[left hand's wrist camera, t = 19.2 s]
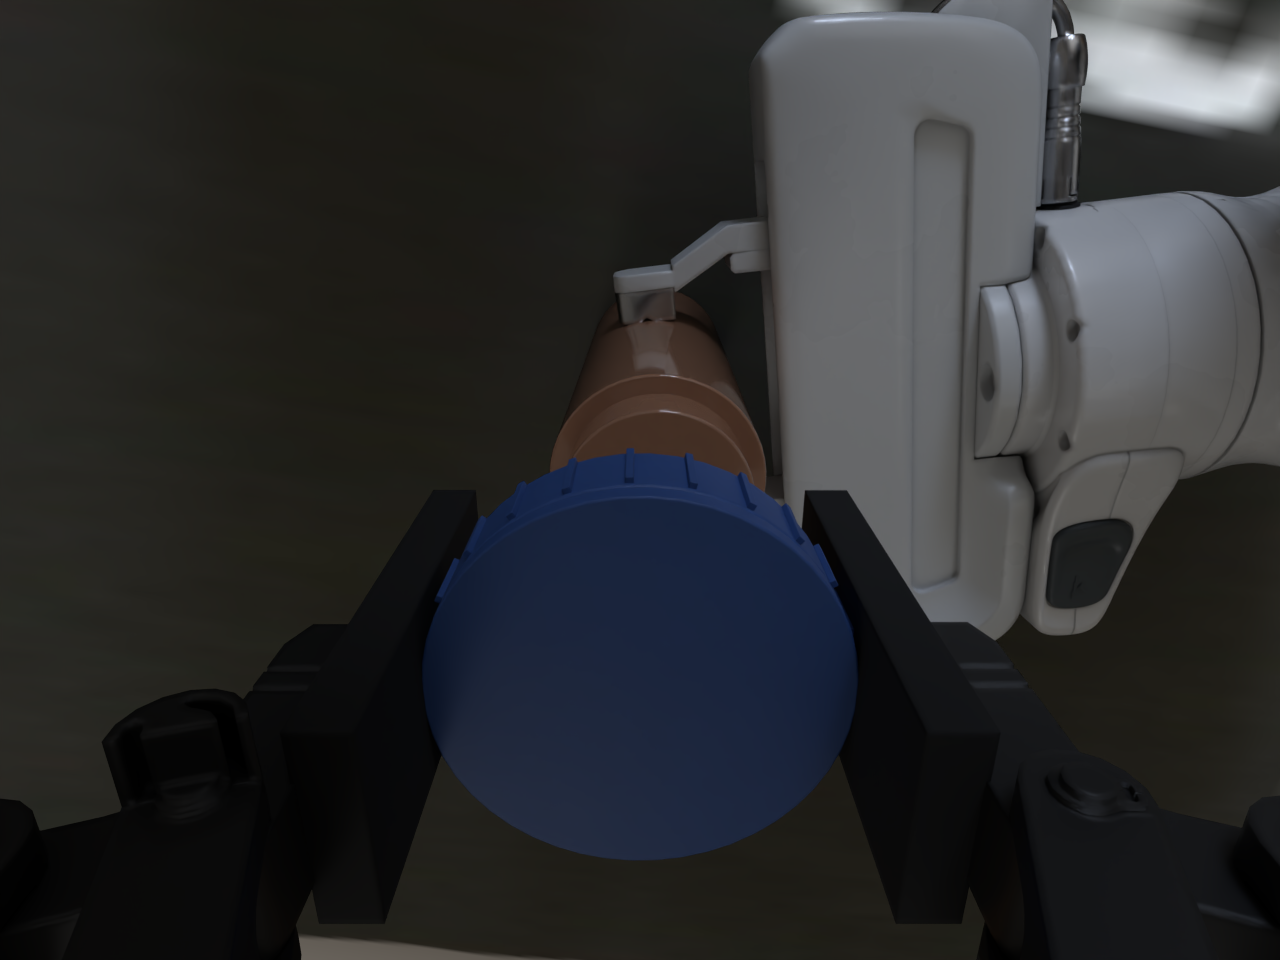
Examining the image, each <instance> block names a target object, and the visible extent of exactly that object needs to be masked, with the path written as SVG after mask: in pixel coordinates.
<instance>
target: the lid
mask: <svg viewBox="0 0 1280 960" xmlns="http://www.w3.org/2000/svg"><path fill="white" fill-rule="evenodd" d="M837 586H838V583H837V581H836V579H835V577H834V574H833V572H832V570H831V568H830V566H829V564H828V562H827V560H826V557H825V555H824V553H823V551H822V549H821V547H820V545H819V544H816V545H814V546H813V545H812V543H811V541H810V540H809V538H808V536H807V535H806V533H805V532H804V531H803V530H802V528H801V527H800V526H799V525H798V523H797V521H796V519H795V516H794V514H793V512H792V510H791V507H790V506H789V505H788V504H787V503H785V504H784V505H783V506H782V507H781V506H780V505H779V504H778V503H777V502H776V501H775V500H774V499H773V498H771V497H770V496H769V495H767V494H766V493H764V492H763V491H762V490H760V489H759V488H757V487H756V486H754V485H753V484H751V483H749V480H748V477H747V475H746V474H744V473H742V472H740V473H739V475H738V476H736V475H734V474H732V473H730V472H728V471H726V470H723V469H720V468H718V467H715V466H712V465H710V464H707V463H704V462H700V461H696V460H694V458H693V454H690V453H685V457H684V458H683V457H679V456H671V455H661V454H652V453H640V454H634V448H627V450H626V454H617V455H610V456H603V457H596V458H592V459H588V460H585V461H581V462H577V459H576V458H572V459H569V461H568V465H567V466H565V467H562V468H560V469H558V470H555V471H553V472H550V473H548V474H545V475H543V476H542V477H540V478H538V479H536V480H535V481H533V482H531V483H529V484H528V485H527V484H526V483H525V482H524V481H522V482H520V483H519V484H518V485H517V488H516V491H515V493H514V494H513V495H512V496H511V497H509V498H508V499H507V500H505V501H504V502H503V503H502V504H500V505H499V506H498V508H497V509H496V510H495V511H494V512H493V513H492V514H491V515H490V516H489V517H488V518H487V519H486V518H485V517H484V516H481V517H480V518H479V519H478V521H477V523H476V526H475V528H474V530H473V532H472V534H471V537H470V539H469V541H468V543H467V545H466V547H465V550H464V552H463V554H462V556H461V558H460V560H459V559H456V558H454V560H453V562H452V564H451V566H450V568H449V570H448V573H447V575H446V577H445V579H444V581H443V583H442V585H441V587H440V589H439V592H438V594H437V596H436V598H435V602H437V603H440V604H439V606H438V608H437V610H436V613H435V615H434V617H433V620H432V623H431V626H430V629H429V632H428V635H427V638H426V642H425V648H424V654H423V660H422V683H423V692H424V700H425V708H426V716H427V719H428V722H429V726H430V729H431V732H432V735H433V737H434V739H435V742H436V744H437V746H438V748H439V750H440V752H441V754H442V756H443V758H444V759H445V761H446V762H447V764H448V765H449V767H450V768H451V770H452V771H453V773H454V774H455V776H456V777H457V778H458V779H459V781H460V782H461V783H462V784H463V785H464V786H465V787H466V789H467V790H468V791H469V792H470V793H471V794H472V795H473V796H474V797H475V798H476V799H477V800H478V801H480V802H481V803H482V804H483V805H484V806H485V807H486V808H487V809H489V810H490V811H491V812H492V813H494V814H495V815H497V816H498V817H500V818H501V819H503V820H504V821H505V822H507V823H508V824H510V825H511V826H513V827H515V828H517V829H519V830H521V831H522V832H524V833H526V834H528V835H530V836H532V837H534V838H536V839H539V840H541V841H544V842H546V843H549V844H551V845H554V846H556V847H560V848H563V849H566V850H570V851H573V852H577V853H580V854H585V855H591V856H596V857H602V858H609V859H621V860H661V859H670V858H679V857H685V856H690V855H695V854H699V853H704V852H708V851H711V850H714V849H717V848H720V847H723V846H727V845H730V844H732V843H735V842H737V841H739V840H741V839H744V838H746V837H748V836H750V835H753V834H755V833H757V832H758V831H760V830H762V829H763V828H765V827H767V826H769V825H770V824H772V823H774V822H775V821H777V820H778V819H780V818H781V817H782V816H784V815H785V814H786V813H788V812H789V811H790V810H792V809H793V808H794V807H796V806H797V805H798V804H799V803H800V802H801V801H802V800H803V799H804V798H805V797H806V796H807V795H808V794H809V793H810V792H811V791H812V790H813V789H814V788H815V787H816V786H817V784H818V783H819V782H820V781H821V780H822V778H823V777H824V776H825V775H826V773H827V772H828V771H829V769H830V768H831V766H832V764H833V763H834V761H835V759H836V758H837V756H838V754H839V753H840V751H841V749H842V747H843V744H844V742H845V740H846V737H847V735H848V733H849V730H850V728H851V724H852V720H853V716H854V712H855V705H856V696H857V688H858V674H859V673H858V656H857V652H856V647H855V643H854V638H853V635H854V628H853V626H852V623H851V621H850V619H849V617H848V615H847V613H846V610H845V608H844V606H843V604H842V602H841V600H840V597H839V595H838V593H837V591H836V589H834V588H835V587H837Z"/></svg>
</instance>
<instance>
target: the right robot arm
mask: <svg viewBox="0 0 1280 960" xmlns="http://www.w3.org/2000/svg"><path fill="white" fill-rule="evenodd" d="M1052 19H1053V21H1054V23H1055V26H1056V31H1057V36H1058V37H1056V38H1052V39H1051V25H1052ZM1087 68H1088V49H1087V41H1086V37H1085V35H1084V34H1074V27H1073V22H1072V19H1071V15H1070V12H1069V10H1068V8H1067V6H1066V4H1065V3H1064V1H1063V0H943V1H942V2H941V3H940V4H939V5H938V6H937V7H936V8H935V9H934V10H933V11H932V12H931V13H922V12H857V13H840V14H827V15H816V16H808V17H801V18H797V19H794V20H791V21H789V22H787V23H785V24H783V25H782V26H780V27H779V28H778V29H777V30H776V31H775V32H774V33H773V34H772V35H771V36H770V37H769V38H768V39H767V40H766V42H765V43H764V44H763V46H762V47H761V48H760V50H759V51H758V53H757V54H756V56H755V57H754V59H753V61H752V62H751V65H750V68H749V92H750V108H751V124H752V140H753V156H754V173H755V189H756V205H757V217H752V218H744V219H736V220H728V221H721V222H719V223H718V224H717V225H715V226H714V227H713V228H712V229H710V230H709V231H708V232H706V233H705V234H704V235H702V236H701V237H700V238H699V239H697V240H696V241H695V242H693V243H692V244H691V245H689V246H688V247H687V248H686V249H684V250H683V251H682V252H680V253H679V254H678V255H676V256H675V257H674V258H672V259H671V264H666V265H658V266H650V267H642V268H633V269H626V270H622V271H618V272H615V273H614V275H613V280H614V289H615V296H616V303H617V310H618V317H619V324H622V325H630V324H636V323H640V322H642V321H643V320H645V319H646V318H649V319H651V320H653V321H665V320H673V319H676V311H675V299H674V290H675V292H677V291H678V290H679V289H681V288H682V287H684V286H685V285H686V284H688V283H689V282H690V281H692V280H693V279H694V278H696V277H697V276H699V275H700V274H701V273H703V272H704V271H705V270H707V269H708V268H710V267H711V266H712V265H714V264H715V263H716V262H718V261H719V260H720V259H722V258H723V257H725V263H726V264H727V266H728V267H729V268H730V269H731V271H733V272H734V273H744V272H753V271H761V286H762V302H763V318H764V334H765V350H766V367H767V383H768V399H769V415H770V431H771V447H772V464H773V476H767V477H766V487H765V492H764V493H766V494H767V495H769V496H770V497H771V498H773V499H774V500H775V501H776V502H777V503H778V504H779V505H780V506H781V507H782V506H783V505H784V504H785V503H787V504H788V505H789V506H790V507H791V510H792V512H793V514H794V516H795V519H796V521H797V523H798V525H799V526H800V527H801V528H802V518H803V506H804V494H805V490H847V491H848V493H849V494H850V496H851V497H852V499H853V501H854V502H855V504H856V505H857V507H858V508H859V510H860V512H861V513H862V515H863V516H864V518H865V519H866V521H867V523H868V524H869V526H870V527H871V529H872V531H873V532H874V534H875V535H876V537H877V538H878V540H879V542H880V543H881V545H882V546H883V548H884V549H885V551H886V553H887V554H888V556H889V557H890V559H891V560H892V562H893V564H894V565H895V567H896V568H897V570H898V571H899V573H900V575H901V576H902V578H903V579H904V581H905V582H906V584H907V586H908V587H909V589H910V590H911V592H912V593H913V595H914V597H915V598H916V600H917V601H918V603H919V604H920V606H921V608H922V609H923V611H924V612H925V614H926V615H927V617H928V619H929V620H930V622H969V623H970V624H971V625H973V626H974V627H976V628H977V629H979V630H980V631H982V632H983V633H985V634H986V635H988V636H989V637H990V638H992V639H993V640H997V639H998V638H1000V637H1001V636H1002V635H1003V634H1005V633H1006V632H1007V631H1008V630H1009V629H1010V628H1011V626H1012V625H1013V624H1014V623H1015V621H1016V619H1017V618H1018V616H1019V614H1021V615H1022V616H1023V617H1024V618H1025V619H1026V620H1027V621H1028V622H1029V623H1030V624H1031V625H1032V626H1034V627H1035V628H1036V629H1037V630H1038V631H1040V632H1041V633H1044V634H1047V635H1070V634H1071V635H1072V634H1078V633H1082V632H1085V631H1088V630H1090V629H1091V628H1093V627H1094V626H1095V625H1096V624H1097V623H1098V622H1099V621H1100V620H1101V618H1102V617H1103V615H1104V614H1105V612H1106V610H1107V608H1108V606H1109V604H1110V602H1111V600H1112V597H1113V595H1114V593H1115V591H1116V589H1117V587H1118V585H1119V582H1120V580H1121V578H1122V576H1123V574H1124V572H1125V570H1126V568H1127V566H1128V564H1129V562H1130V560H1131V558H1132V556H1133V554H1134V552H1135V550H1136V548H1137V547H1138V545H1139V543H1140V541H1141V539H1142V538H1143V536H1144V534H1145V532H1146V530H1147V529H1148V527H1149V525H1150V524H1151V522H1152V520H1153V519H1154V517H1155V515H1156V514H1157V512H1158V511H1159V509H1160V507H1161V506H1162V505H1163V503H1164V502H1165V500H1166V499H1167V497H1168V496H1169V494H1170V493H1171V491H1172V490H1173V488H1174V486H1175V485H1176V483H1177V481H1178V479H1186V478H1190V477H1194V476H1197V475H1200V474H1203V473H1206V472H1209V471H1212V470H1215V469H1219V468H1222V467H1226V466H1230V465H1234V464H1242V463H1263V464H1269V465H1275V466H1280V186H1279V187H1277V188H1275V189H1272V190H1270V191H1267V192H1265V193H1262V194H1258V195H1254V196H1249V197H1230V196H1223V195H1219V194H1214V193H1208V192H1199V191H1177V192H1170V193H1160V194H1152V195H1144V196H1136V197H1128V198H1120V199H1111V200H1103V201H1095V202H1085V203H1080V202H1077V201H1078V188H1079V172H1080V159H1081V136H1080V134H1081V126H1079V124H1080V116H1079V113H1080V105H1079V104H1080V103H1081V94H1082V86H1084V85H1085V82H1086V76H1087ZM1036 207H1037V209H1036Z"/></svg>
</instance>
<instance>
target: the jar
mask: <svg viewBox="0 0 1280 960" xmlns="http://www.w3.org/2000/svg"><path fill="white" fill-rule="evenodd" d="M674 299H675V311H676V319H673V320H665V321H653V320H651V319H649V318H646V319H645V320H643V321H642V322H640V323H636V324H630V325H622V324H619V317H618V310H617V303H614V304H613V305H612V306H611V307H610V308H609V309H608V310H607V311H606V313H605V314H604V315H603V317H602V318H601V320H600V322H599V324H598V326H597V328H596V331H595V333H594V336H593V339H592V342H591V345H590V347H589V350H588V353H587V356H586V358H585V361H584V364H583V367H582V370H581V372H580V375H579V378H578V381H577V383H576V386H575V389H574V392H573V395H572V397H571V400H570V403H569V406H568V409H567V411H566V414H565V417H564V420H563V422H562V425H561V428H560V431H559V434H558V436H557V439H556V442H555V445H554V448H553V451H552V456H551V461H550V472H553V471H555V470H558V469H560V468H562V467H565V466H567V465H568V461H569V459H572V458H576V459H577V462H581V461H585V460H588V459H592V458H596V457H603V456H610V455H617V454H626V450H627V448H634V454H640V453H652V454H661V455H671V456H679V457H683V458H684V457H685V453H690V454H693V458H694V460H696V461H700V462H704V463H707V464H710V465H712V466H715V467H718V468H720V469H723V470H726V471H728V472H730V473H732V474H734V475H736V476H738V475H739V473H740V472H742V473H744V474H746V475H747V477H748V480H749V483H751V484H753V485H754V486H756V487H757V488H759V489H760V490H762V491H763V492H765V487H766V464H765V457H764V453H763V449H762V445H761V442H760V440H759V437H758V435H757V432H756V430H755V427H754V425H753V422H752V420H751V417H750V415H749V412H748V410H747V407H746V405H745V402H744V399H743V397H742V394H741V392H740V389H739V387H738V384H737V382H736V379H735V377H734V374H733V372H732V369H731V367H730V364H729V362H728V359H727V357H726V354H725V351H724V349H723V346H722V344H721V341H720V339H719V336H718V334H717V331H716V329H715V326H714V324H713V322H712V320H711V319H710V317H709V315H708V314H707V313H706V312H705V310H704V309H703V308H702V307H701V306H700V305H699V304H698V303H696V302H695V301H694V300H692V299H691V298H689V297H688V296H686V295H684V294H682V293H679V292H675V291H674ZM550 472H549V473H550Z"/></svg>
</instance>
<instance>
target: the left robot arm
mask: <svg viewBox="0 0 1280 960" xmlns="http://www.w3.org/2000/svg"><path fill="white" fill-rule="evenodd" d="M477 521H478V512H477V500H476V490H433V492H432V494H431V495H430V497H429V498H428V500H427V501H426V503H425V505H424V506H423V508H422V509H421V511H420V512H419V514H418V516H417V517H416V519H415V520H414V522H413V523H412V525H411V527H410V528H409V530H408V531H407V533H406V534H405V536H404V538H403V539H402V541H401V542H400V544H399V545H398V547H397V549H396V550H395V552H394V553H393V555H392V556H391V558H390V560H389V561H388V563H387V564H386V566H385V568H384V569H383V571H382V572H381V574H380V575H379V577H378V579H377V580H376V582H375V583H374V585H373V586H372V588H371V590H370V591H369V593H368V594H367V596H366V597H365V599H364V601H363V602H362V604H361V605H360V607H359V608H358V610H357V612H356V613H355V615H354V616H353V618H352V619H351V621H350V623H349V624H313V625H312V626H310V627H309V628H307V629H306V630H304V631H303V632H301V633H300V634H298V635H297V636H296V637H294V638H293V639H291V640H290V641H288V642H287V643H285V644H284V645H283V647H282V648H281V649H280V651H279V652H278V653H277V655H276V656H275V658H274V659H273V660H272V662H271V663H270V664H269V666H268V667H267V672H263V674H262V675H261V676H260V678H259V679H258V680H257V682H256V683H255V684H254V686H253V691H249V693H248V694H247V695H246V697H245V698H244V699H242V698H241V697H239V696H238V695H237V694H236V693H233V692H228V691H224V690H219V689H202V690H189V691H185V692H181V693H178V694H174V695H170V696H166V697H162V698H160V699H158V700H156V701H154V702H151V703H149V704H147V705H145V706H143V707H141V708H138V709H136V710H135V711H134V712H132V713H131V714H129V715H128V716H127V717H125V718H124V719H122V720H121V721H120V722H118V723H117V724H115V725H114V727H113V728H112V729H111V731H110V732H109V733H108V734H107V736H106V737H105V738H104V740H103V741H102V745H103V748H104V751H105V754H106V758H107V761H108V764H109V767H110V770H111V774H112V777H113V780H114V783H115V787H116V790H117V793H118V796H119V799H120V803H121V806H122V808H121V811H120V812H118V813H114V814H111V815H107V816H104V817H100V818H95V819H91V820H86V821H82V822H78V823H73V824H69V825H64V826H60V827H55V828H51V829H47V830H42V831H40V830H39V828H38V825H37V822H36V819H35V817H34V814H33V811H32V810H31V809H30V808H28V807H27V806H26V805H24V804H23V803H22V802H20V801H16V800H7V799H0V960H301V949H300V943H299V937H298V932H297V928H296V923H297V921H298V918H299V916H300V914H301V912H302V910H303V907H304V905H305V903H306V901H307V899H308V896H309V894H310V892H311V890H312V892H313V896H314V901H315V906H316V911H317V916H318V921H319V924H385V921H386V918H387V915H388V912H389V909H390V906H391V903H392V900H393V897H394V894H395V891H396V888H397V885H398V882H399V879H400V876H401V873H402V870H403V867H404V864H405V861H406V858H407V855H408V853H409V850H410V847H411V844H412V841H413V838H414V835H415V832H416V829H417V826H418V823H419V820H420V817H421V814H422V811H423V808H424V805H425V802H426V799H427V796H428V793H429V790H430V787H431V784H432V781H433V778H434V775H435V772H436V769H437V766H438V763H439V760H440V758H441V755H442V754H441V752H440V750H439V748H438V746H437V744H436V742H435V739H434V737H433V735H432V732H431V729H430V726H429V722H428V719H427V716H426V708H425V700H424V692H423V683H422V660H423V654H424V648H425V642H426V638H427V635H428V632H429V629H430V626H431V623H432V620H433V617H434V615H435V613H436V610H437V608H438V606H439V604H440V603H437V602H435V598H436V596H437V594H438V592H439V589H440V587H441V585H442V583H443V581H444V579H445V577H446V575H447V573H448V570H449V568H450V566H451V564H452V562H453V560H454V558H456V559H459V560H460V558H461V556H462V554H463V552H464V550H465V547H466V545H467V543H468V541H469V539H470V537H471V534H472V532H473V530H474V528H475V526H476V523H477ZM802 530H803V531H804V532H805V533H806V535H807V536H808V538H809V540H810V541H811V543H812V545H813V546H814V545H816V544H819V545H820V547H821V549H822V551H823V553H824V555H825V557H826V560H827V562H828V564H829V566H830V568H831V570H832V572H833V574H834V577H835V579H836V581H837V583H838V586H837V587H835V588H834V589H836V591H837V593H838V595H839V597H840V600H841V602H842V604H843V606H844V608H845V610H846V613H847V615H848V617H849V619H850V621H851V623H852V626H853V628H854V635H853V638H854V643H855V647H856V652H857V656H858V673H859V674H858V688H857V696H856V705H855V712H854V716H853V720H852V724H851V728H850V730H849V733H848V735H847V737H846V740H845V742H844V744H843V747H842V749H841V751H840V753H839V756H840V759H841V762H842V765H843V768H844V771H845V774H846V777H847V780H848V783H849V786H850V789H851V792H852V795H853V798H854V801H855V804H856V807H857V810H858V813H859V815H860V818H861V821H862V824H863V827H864V830H865V833H866V836H867V839H868V842H869V845H870V848H871V851H872V854H873V857H874V860H875V863H876V866H877V869H878V872H879V875H880V878H881V881H882V884H883V887H884V890H885V893H886V896H887V899H888V902H889V905H890V907H891V910H892V913H893V916H894V919H895V922H896V924H961V923H962V918H963V913H964V908H965V904H966V899H967V894H968V889H969V887H970V889H971V891H972V893H973V896H974V898H975V900H976V902H977V904H978V907H979V909H980V911H981V913H982V915H983V918H984V920H985V923H984V928H983V932H982V937H981V941H980V946H979V950H978V955H977V959H976V960H1280V796H1273V797H1264V798H1261V799H1260V800H1258V801H1257V802H1256V803H1255V804H1253V805H1252V806H1251V807H1250V808H1249V810H1248V813H1247V816H1246V819H1245V821H1244V824H1243V827H1242V828H1240V827H1235V826H1231V825H1226V824H1222V823H1217V822H1213V821H1209V820H1204V819H1200V818H1195V817H1191V816H1186V815H1182V814H1178V813H1174V812H1171V811H1167V810H1164V809H1161V808H1159V807H1158V805H1157V804H1156V802H1155V801H1154V799H1153V798H1152V796H1151V795H1150V793H1149V792H1148V790H1147V789H1146V788H1145V787H1144V786H1143V785H1142V784H1141V783H1139V782H1138V781H1137V780H1136V779H1134V778H1133V777H1132V776H1131V775H1130V774H1128V773H1127V772H1126V771H1124V770H1122V769H1120V768H1118V767H1116V766H1114V765H1113V764H1111V763H1109V762H1107V761H1105V760H1103V759H1101V758H1098V757H1094V756H1091V755H1087V754H1084V753H1080V752H1079V751H1078V750H1077V749H1076V747H1075V746H1074V745H1073V743H1072V742H1071V740H1070V739H1069V738H1068V736H1067V735H1066V734H1065V732H1064V731H1063V730H1062V728H1061V727H1060V726H1059V724H1058V723H1057V722H1056V720H1055V719H1054V718H1053V716H1052V715H1051V714H1050V712H1049V711H1048V710H1047V708H1046V707H1045V706H1044V704H1043V703H1042V702H1041V700H1040V699H1039V698H1038V696H1037V695H1036V694H1035V692H1034V691H1033V690H1032V689H1029V688H1028V683H1027V682H1026V680H1025V679H1024V678H1023V676H1022V675H1021V674H1020V672H1019V671H1018V670H1017V669H1014V664H1013V663H1012V662H1011V660H1010V659H1009V658H1008V656H1007V655H1006V654H1005V652H1004V651H1003V650H1002V648H1001V647H1000V646H999V644H998V643H997V642H996V641H995V640H993V639H992V638H990V637H989V636H988V635H986V634H985V633H983V632H982V631H980V630H979V629H977V628H976V627H974V626H973V625H971V624H970V623H969V622H930V620H929V619H928V617H927V615H926V614H925V612H924V611H923V609H922V608H921V606H920V604H919V603H918V601H917V600H916V598H915V597H914V595H913V593H912V592H911V590H910V589H909V587H908V586H907V584H906V582H905V581H904V579H903V578H902V576H901V575H900V573H899V571H898V570H897V568H896V567H895V565H894V564H893V562H892V560H891V559H890V557H889V556H888V554H887V553H886V551H885V549H884V548H883V546H882V545H881V543H880V542H879V540H878V538H877V537H876V535H875V534H874V532H873V531H872V529H871V527H870V526H869V524H868V523H867V521H866V519H865V518H864V516H863V515H862V513H861V512H860V510H859V508H858V507H857V505H856V504H855V502H854V501H853V499H852V497H851V496H850V494H849V493H848V491H847V490H805V494H804V506H803V518H802Z"/></svg>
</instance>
